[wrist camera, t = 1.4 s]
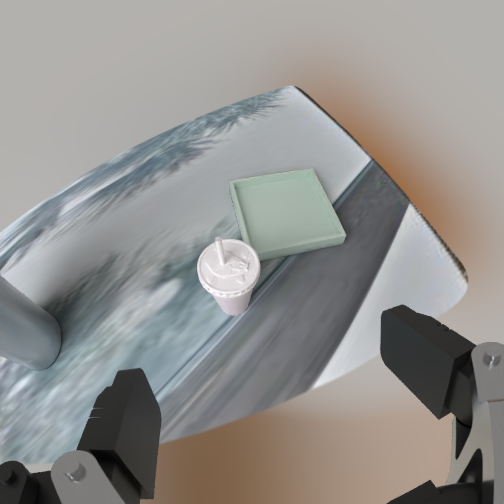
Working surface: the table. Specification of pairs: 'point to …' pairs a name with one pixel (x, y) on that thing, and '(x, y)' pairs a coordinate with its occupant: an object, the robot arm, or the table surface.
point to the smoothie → (229, 273)
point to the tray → (285, 214)
